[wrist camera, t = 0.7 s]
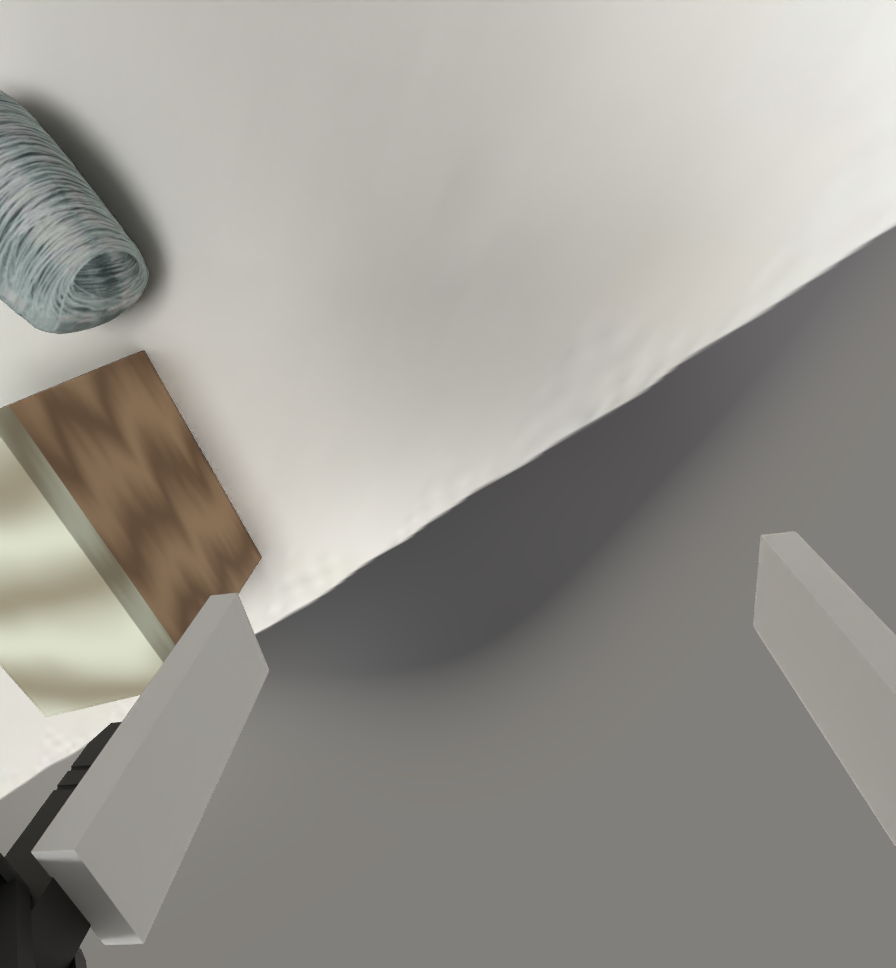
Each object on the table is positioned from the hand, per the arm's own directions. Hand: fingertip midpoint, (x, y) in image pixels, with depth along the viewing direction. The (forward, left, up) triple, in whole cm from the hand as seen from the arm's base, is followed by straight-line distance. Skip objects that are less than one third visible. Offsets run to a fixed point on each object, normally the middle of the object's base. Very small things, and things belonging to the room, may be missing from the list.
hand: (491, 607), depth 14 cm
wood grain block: (+1, -28, -27) cm, 38 cm away
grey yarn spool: (-17, -23, -27) cm, 39 cm away
